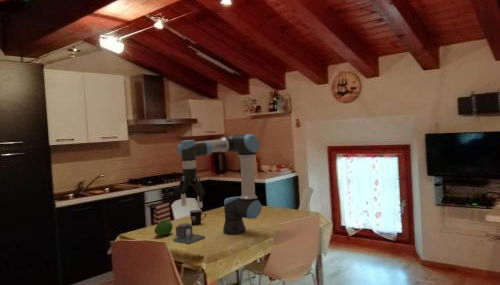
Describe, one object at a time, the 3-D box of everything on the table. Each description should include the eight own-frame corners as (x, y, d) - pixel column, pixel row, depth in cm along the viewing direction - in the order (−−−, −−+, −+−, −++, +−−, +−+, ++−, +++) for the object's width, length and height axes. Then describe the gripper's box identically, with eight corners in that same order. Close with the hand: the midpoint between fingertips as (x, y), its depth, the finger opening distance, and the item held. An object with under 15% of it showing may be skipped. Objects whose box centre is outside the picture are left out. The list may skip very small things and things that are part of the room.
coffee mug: (188, 224, 281) (187, 211, 280) (197, 222, 287) (196, 209, 287) (198, 226, 273) (197, 213, 272) (207, 224, 279) (206, 210, 279)
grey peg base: (189, 235, 251) (189, 225, 250) (204, 238, 242) (204, 228, 242) (173, 241, 239) (172, 231, 239) (188, 244, 231) (188, 233, 231)
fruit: (162, 239, 246) (161, 223, 245) (150, 238, 250) (149, 223, 249) (176, 232, 260) (175, 218, 259) (164, 232, 264) (163, 217, 263)
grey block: (184, 233, 258) (184, 222, 257) (192, 234, 253) (191, 223, 253) (176, 236, 252) (175, 225, 251) (184, 237, 247) (183, 226, 247)
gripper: (169, 168, 213) (172, 206, 214) (199, 169, 197) (202, 210, 198) (180, 167, 219) (182, 203, 220) (210, 167, 203) (212, 207, 203)
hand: (191, 206), depth 209 cm, fingers open, 13 cm apart
